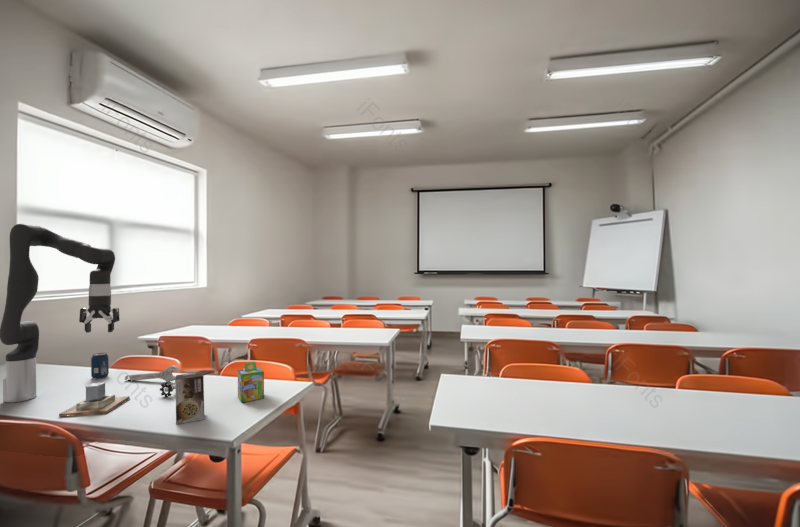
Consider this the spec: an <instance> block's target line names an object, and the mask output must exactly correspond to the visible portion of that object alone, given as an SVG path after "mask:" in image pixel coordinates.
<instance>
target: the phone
mask: <svg viewBox="0 0 800 527" xmlns="http://www.w3.org/2000/svg"><path fill="white" fill-rule="evenodd" d="M198 372H203V376H206V375H208V374H209V375H210V374H212V373H213V371H210V370H199V371H198Z"/></svg>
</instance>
